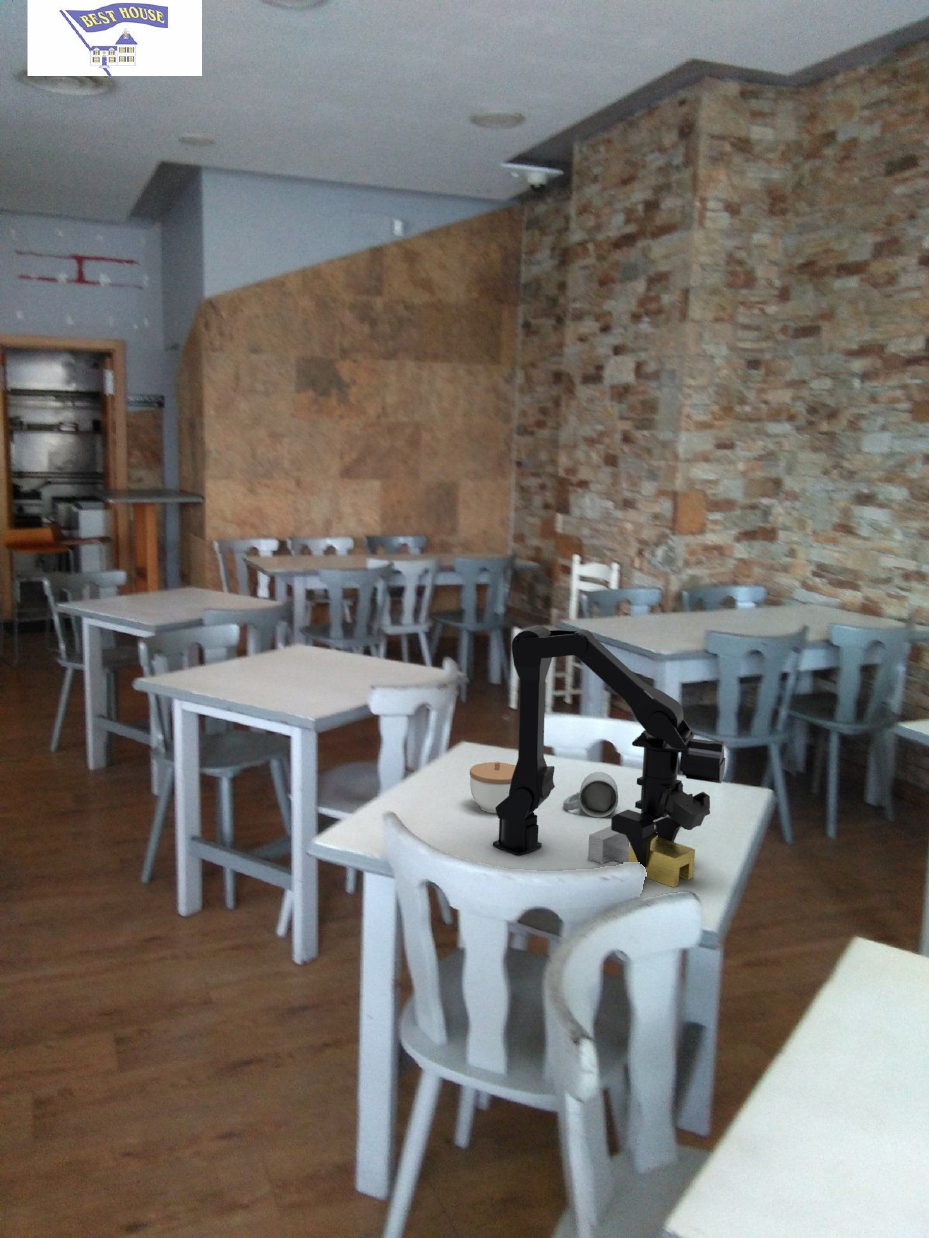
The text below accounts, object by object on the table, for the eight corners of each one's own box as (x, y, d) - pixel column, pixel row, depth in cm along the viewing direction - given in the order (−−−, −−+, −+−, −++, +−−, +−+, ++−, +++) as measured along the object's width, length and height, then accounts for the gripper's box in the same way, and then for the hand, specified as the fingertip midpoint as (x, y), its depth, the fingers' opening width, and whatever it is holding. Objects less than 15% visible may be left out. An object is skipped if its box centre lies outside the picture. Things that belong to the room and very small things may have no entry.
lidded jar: (493, 795, 214) (495, 750, 213) (534, 808, 207) (536, 763, 205) (457, 807, 206) (458, 761, 205) (497, 821, 199) (499, 774, 198)
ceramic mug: (616, 805, 210) (618, 768, 209) (617, 819, 202) (619, 781, 201) (563, 802, 212) (564, 765, 210) (562, 816, 204) (563, 778, 202)
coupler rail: (587, 858, 183) (589, 834, 182) (614, 847, 188) (616, 823, 188) (638, 877, 175) (639, 852, 175) (664, 864, 181) (666, 840, 180)
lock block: (628, 870, 178) (629, 842, 177) (648, 861, 182) (650, 834, 181) (673, 887, 172) (675, 858, 171) (693, 877, 176) (695, 849, 175)
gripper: (669, 798, 163) (663, 892, 166) (731, 774, 176) (724, 861, 179) (611, 780, 171) (606, 871, 173) (674, 758, 184) (668, 843, 187)
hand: (653, 862), depth 178 cm, fingers closed on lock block, 6 cm apart
